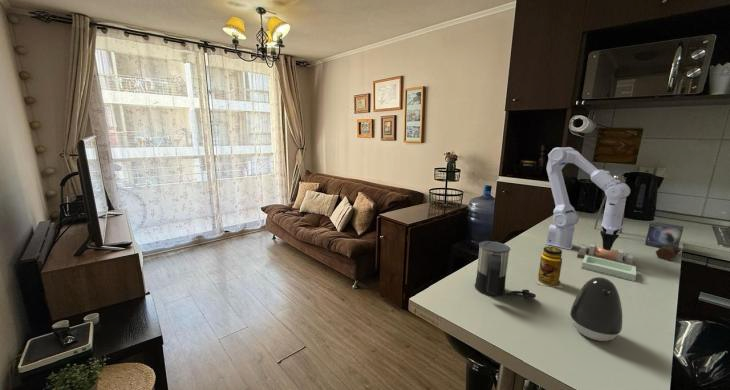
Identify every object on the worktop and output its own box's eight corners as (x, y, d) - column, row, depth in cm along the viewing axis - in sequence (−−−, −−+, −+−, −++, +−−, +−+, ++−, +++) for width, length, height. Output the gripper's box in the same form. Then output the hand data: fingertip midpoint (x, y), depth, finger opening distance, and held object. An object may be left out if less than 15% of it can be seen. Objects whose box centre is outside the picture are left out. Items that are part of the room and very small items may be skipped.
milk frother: (470, 281, 100) (474, 240, 97) (517, 282, 100) (523, 241, 97) (485, 305, 86) (491, 258, 83) (540, 307, 86) (548, 259, 83)
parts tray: (581, 268, 111) (582, 262, 111) (584, 260, 118) (585, 255, 117) (634, 281, 102) (636, 275, 101) (634, 272, 108) (635, 266, 108)
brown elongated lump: (674, 256, 128) (665, 263, 120) (661, 248, 131) (652, 254, 123) (686, 247, 125) (678, 254, 116) (673, 239, 128) (664, 244, 119)
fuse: (587, 257, 121) (589, 246, 120) (589, 253, 125) (591, 242, 124) (621, 265, 114) (623, 253, 113) (621, 261, 118) (623, 249, 117)
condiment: (537, 284, 99) (542, 250, 96) (533, 273, 107) (538, 242, 104) (563, 289, 96) (569, 254, 94) (557, 277, 104) (562, 245, 101)
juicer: (594, 228, 158) (604, 173, 152) (621, 232, 152) (633, 175, 146) (594, 233, 151) (605, 175, 144) (623, 238, 144) (636, 177, 138)
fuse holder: (577, 257, 121) (578, 249, 120) (580, 249, 129) (581, 242, 128) (632, 270, 110) (634, 261, 109) (632, 261, 118) (634, 252, 117)
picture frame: (644, 245, 136) (649, 223, 134) (646, 241, 140) (651, 220, 138) (677, 252, 128) (682, 229, 126) (678, 248, 132) (683, 226, 130)
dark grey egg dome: (574, 341, 72) (585, 284, 68) (563, 317, 81) (572, 266, 78) (626, 353, 68) (640, 293, 65) (608, 326, 78) (620, 273, 74)
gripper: (626, 220, 108) (619, 255, 111) (626, 212, 118) (620, 244, 121) (602, 216, 112) (596, 250, 115) (604, 209, 123) (598, 240, 126)
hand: (607, 246), depth 118 cm, fingers open, 7 cm apart
